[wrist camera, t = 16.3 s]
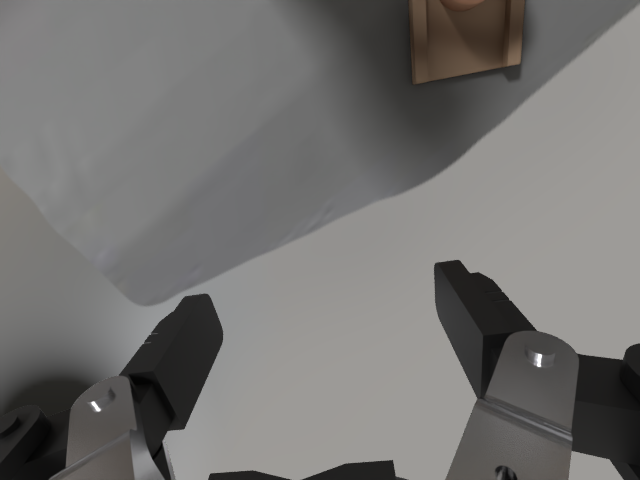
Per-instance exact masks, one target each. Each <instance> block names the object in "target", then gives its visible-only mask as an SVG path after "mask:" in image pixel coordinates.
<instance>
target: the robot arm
mask: <svg viewBox="0 0 640 480" xmlns="http://www.w3.org/2000/svg"><path fill="white" fill-rule="evenodd" d="M434 275H435V277H434V279H435V303H436V309H437V313H438V317H439V319H440V322H441V324H442V326H443V328H444V330H445V332H446V334H447V336H448V338H449V340H450V342H451V344H452V347H453V349H454V351H455V353H456V355H457V357H458V359H459V361H460V363H461V365H462V367H463V369H464V371H465V374H466V376H467V378H468V380H469V382H470V384H471V386H472V388H473V390H474V392H475V394H476V396H477V401H476V403H475V405H474V408H473V410H472V413H471V415H470V418H469V420H468V423H467V426H466V428H465V431H464V433H463V436H462V438H461V441H460V444H459V446H458V449H457V451H456V454H455V456H454V459H453V462H452V464H451V467H450V469H449V472H448V474H447V477H446V479H445V480H568V478H569V468H570V459H571V451H575V452H580V453H584V454H588V455H593V456H597V457H602V458H606V459H610V461H611V462H612V464H613V465H614V466H615V468H616V469H617V471H618V472H619V474H620V475H621V476H622V478H623V479H624V480H640V344H635V345H633V346H630V347H629V348H628V349H627V350H626V352H625V355H624V358H623V360H619V359H611V358H603V357H595V356H586V355H581V354H577V353H576V352H575V351H574V349H573V348H572V347H571V346H570V345H568V344H567V343H565V342H564V341H563V340H561V339H559V338H557V337H555V336H553V335H550V334H547V333H543V332H539V331H537V330H536V329H535V328H534V327H533V325H532V324H531V323H530V322H529V321H528V320H527V319H526V317H525V316H524V315H523V314H522V313H521V312H520V311H519V309H518V308H517V307H516V306H515V305H514V304H513V303H512V301H509V298H508V297H507V296H506V295H505V294H504V293H503V292H502V290H501V289H500V288H499V287H498V285H497V284H496V283H495V282H494V281H493V280H492V279H490V278H488V277H486V276H484V275H483V274H481V273H479V272H477V273H469V272H468V271H467V269H466V268H465V266H464V265H463V264H462V263H461V261H459V260H454V261H446V262H439V263H435V266H434ZM222 342H223V330H222V326H221V323H220V321H219V318H218V316H217V313H216V310H215V308H214V306H213V303H212V300H211V298H210V296H209V295H208V294H199V295H192V296H186V297H184V298H183V299H182V301H181V302H180V303H179V305H178V306H177V307H176V309H175V310H174V312H171V313H170V314H169V315H168V316H166V317H165V318H164V319H163V320H161V321H160V322H159V323H158V325H157V326H156V327H155V329H154V330H153V331H152V333H151V335H149V337H148V338H147V339H146V340H145V342H144V344H143V345H142V346H141V347H140V348H139V350H138V351H137V352H136V354H135V355H134V356H133V357H132V359H131V360H130V361H129V363H128V364H127V365H126V367H125V368H124V369H123V371H122V372H121V373H120V374H119V376H114V377H110V378H108V379H105V380H103V381H100V382H99V383H97V384H95V385H94V386H92V387H91V388H89V389H88V390H87V391H86V392H84V393H83V394H82V395H81V396H80V397H79V398H78V399H77V400H76V402H75V403H74V405H73V406H72V408H71V409H68V410H65V411H63V412H60V413H57V414H54V415H52V416H48V417H46V416H45V414H44V413H43V412H42V411H41V409H40V408H39V407H38V406H36V405H28V406H24V407H21V408H18V409H16V410H13V411H11V412H9V413H7V414H6V415H4V416H2V417H1V418H0V480H176V479H175V475H174V471H173V467H172V463H171V459H170V455H169V451H168V447H167V444H166V442H165V441H164V437H165V435H166V433H167V431H170V430H182V429H185V426H186V424H187V422H188V420H189V417H190V415H191V413H192V411H193V408H194V406H195V404H196V402H197V399H198V397H199V395H200V393H201V390H202V388H203V386H204V384H205V381H206V379H207V377H208V374H209V372H210V370H211V368H212V365H213V363H214V361H215V359H216V356H217V354H218V352H219V350H220V347H221V345H222ZM208 480H290V479H286V478H282V477H278V476H273V475H269V474H265V473H261V472H257V471H239V472H226V473H212V474H210V475H209V479H208ZM303 480H407V479H404V478H399V477H396V476H395V470H394V464H393V460H389V461H376V462H362V463H348V464H344V465H341V466H338V467H335V468H333V469H330V470H327V471H324V472H322V473H319V474H316V475H313V476H311V477H308V478H305V479H303Z"/></svg>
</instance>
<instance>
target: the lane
mask: <svg viewBox="0 0 640 480" xmlns="http://www.w3.org/2000/svg"><path fill="white" fill-rule="evenodd" d="M408 6H409V25H410V44H411V63H412V83H413V84H419V83H424V82H429V81H434V80H439V79H444V78H449V77H454V76H459V75H465V74H470V73H475V72H480V71H485V70H490V69H495V68H501V67H506V66H512V65H517V64H520V62H521V48H522V34H523V20H524V6H525V0H485V1H484V2H482V3H481V4H479V5H477V6H476V7H474V8H472V9H470V10H467V11H462V12H457V11H452V10H450V9H448V8H446V7H445V6H444V5H443V4H442V3H441V2H440V1H439V0H408Z"/></svg>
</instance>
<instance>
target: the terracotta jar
mask: <svg viewBox="0 0 640 480" xmlns="http://www.w3.org/2000/svg"><path fill="white" fill-rule="evenodd" d="M439 1H440V2H441V3H442V4H443V5H444V6H445V7H446V8H448V9H450V10H452V11H457V12H462V11H467V10H470V9H472V8H474V7H476V6H477V5H479V4H481V3H482V2H484V1H485V0H439Z"/></svg>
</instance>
